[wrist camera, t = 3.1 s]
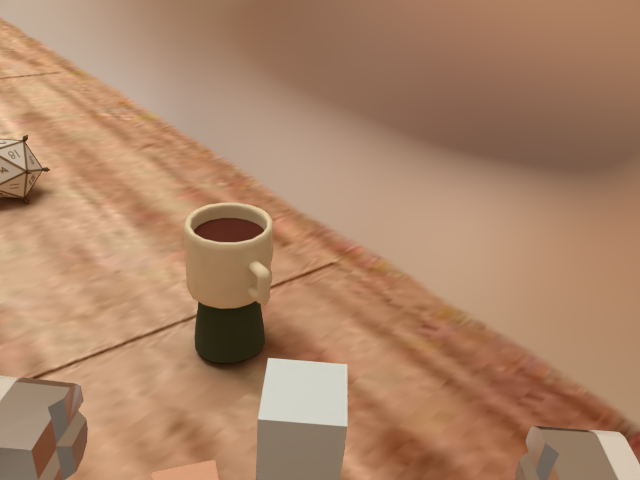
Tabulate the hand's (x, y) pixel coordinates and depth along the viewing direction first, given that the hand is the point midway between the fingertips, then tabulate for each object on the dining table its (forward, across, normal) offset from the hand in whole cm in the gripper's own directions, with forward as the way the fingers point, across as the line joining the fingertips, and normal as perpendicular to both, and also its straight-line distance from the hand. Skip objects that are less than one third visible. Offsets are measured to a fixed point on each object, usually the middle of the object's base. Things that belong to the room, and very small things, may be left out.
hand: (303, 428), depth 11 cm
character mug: (+35, -8, -26) cm, 44 cm away
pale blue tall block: (+14, 0, -27) cm, 31 cm away
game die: (+59, -39, -25) cm, 75 cm away
